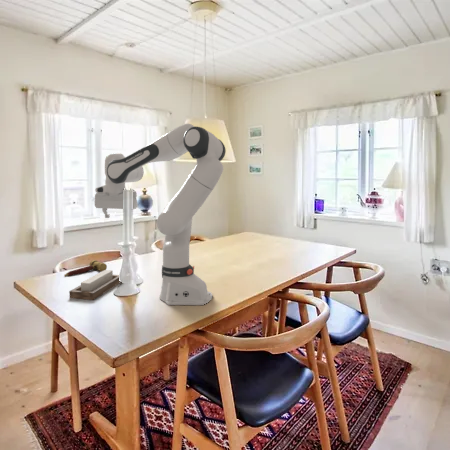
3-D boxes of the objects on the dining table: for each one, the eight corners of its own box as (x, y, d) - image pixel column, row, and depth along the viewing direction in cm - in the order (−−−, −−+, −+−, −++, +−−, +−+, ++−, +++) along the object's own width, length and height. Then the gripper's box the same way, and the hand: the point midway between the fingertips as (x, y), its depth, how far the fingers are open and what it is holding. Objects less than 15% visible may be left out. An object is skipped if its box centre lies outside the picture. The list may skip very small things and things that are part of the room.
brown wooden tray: (122, 281, 174) (122, 275, 174) (93, 300, 149) (93, 293, 148) (102, 279, 176) (101, 273, 176) (69, 298, 151) (69, 291, 151)
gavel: (68, 273, 177) (59, 269, 183) (69, 281, 178) (60, 277, 184) (106, 262, 192) (96, 259, 199) (107, 270, 193) (97, 266, 200)
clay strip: (112, 280, 172) (112, 270, 171) (89, 294, 152) (89, 283, 152) (105, 280, 172) (104, 270, 172) (81, 294, 153) (80, 282, 152)
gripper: (139, 188, 168) (139, 218, 170) (99, 188, 171) (100, 216, 174) (133, 189, 161) (134, 219, 164) (92, 188, 165) (93, 218, 167)
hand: (116, 218), depth 169 cm, fingers open, 8 cm apart
